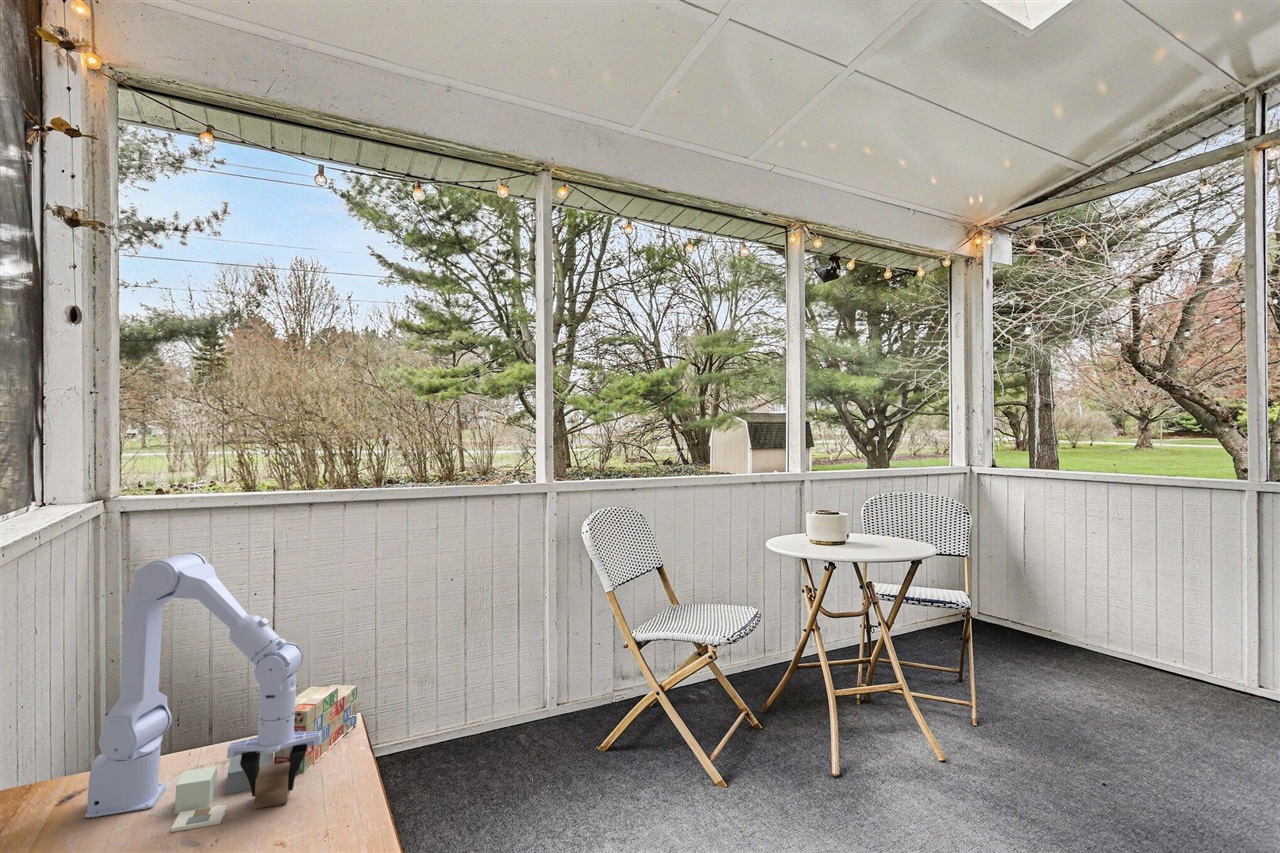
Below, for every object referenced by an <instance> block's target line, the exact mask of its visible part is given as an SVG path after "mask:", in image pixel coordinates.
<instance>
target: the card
mask: <svg viewBox="0 0 1280 853" xmlns="http://www.w3.org/2000/svg"><path fill="white" fill-rule="evenodd" d="M227 811H228V804H227V803H226V804H219V805H216V806H210V807H208V808H202V809H196V810H190V811H184V812H180V813H178V815H177V817H176V818H175V820H174V822H173V824H172V825H171V828H170V833H175V832H180V831H186V830H192V829H198V828H203V827H209V826H214V825H220V824H222V822H223V819H224V817H225V815H226V812H227Z"/></svg>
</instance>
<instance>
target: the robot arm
mask: <svg viewBox="0 0 1280 853" xmlns="http://www.w3.org/2000/svg"><path fill="white" fill-rule="evenodd" d="M173 598H174V599H189V600H197V601H198V602H199V603H201V604H202V605H203V606H204V607H205V608H206V609H207V610H209V611H210V613H212V614H213V615H214V616H215V617H216V618H218V619H219V620H220V621H221V622H222V623H223V624H224V625H225V626H227V627H228V628H229V636H228V638H229V641H231V643H232V644H233V645H235V647H237V649H238V650H239V651H240V652H241V653H242V654H243V655H244V656H245V657H246V658H247V659H248V660H249V661H250V662H251V664H253V665H254V667H255V668H253V674H254V678H255V679H256V681H257V682H258V683H259V706H258V707H259V710H258V722H257V723H258V724H257V736H256V737H255V736H254V737H252V738H247V739H243V740H239V741H235V742H230V743H229V745H228V746H227V756H226V759H231V758H234V757H235V756H238V755H241V761H240V765H241V768H242V769H243V770H244V772H245V774H246V776H247V778H248V780H249V783H250V787H251V789H250V790H251V797H255V784H256V778H257V775H258V773H259V762H260V752H266V753H272V752H273V753H275V752H278V751H279V750H281V749H288V748H292V750H291V753H290V775H289V783H288V791H290V792H291V791H293V789H294V786H295V785H294V784H295V779H296V775H297V773H298V772H297V770H298V768H299V766H300V764H301V762H302V760H303V758H304V756H305V754H306V750H307V746H310V745H313V746H319V745H320V738H321V731H316V732H294V720H295V700H296V697H297V677H298V676H297V675H298V673H297V670H299V669H300V668H301V666H302V665H303V662H304V661H303V660H304V653H303V651H302V650H301V648H300V646H299V645H298V644H297V643H295V642H292V641H286V639H285V638H283V637H282V638H281V637H280V636H279V635H278V634H277V632H275V631H274V629H272V627H270V625H269V623H270V621H269V620H268V619H267V617H263V618H262V617H261V616H260V615H257V614H256V615H253V614H248V613H247V612H246V610H245V609H243V607H242V606H241V604H240V603H239V602H238V601H237V600H236V599H235V597H234V596H233V595H232V594H231V592H230V591H229V590H228V589H227V588H226V586H225V585H224V584H223V583H222V582H221V580H220V579H219V578H218V577H217V574H216V570H215V567H214V566H213V565H212V564H211V563H209V562H207V559H206V558H205V557H204V556H203V555H202V554H200V553H198V552H193V551H191V552H190V551H188V552H184V553H183V554H180V555H175V556H170V557H167V558H162V559H155V560H152V561H149V562H148V563H146V564H145V565H143V566H142V567H141V568H139V569H138V570H137V571H135V572H134V582H133V584H132V585H131V587H130V588H129V591H128V592H127V594H126V596H125V599H124V606H123V607H124V608H123V627H122V628H123V630H122V645H121V646H122V648H121V664H120V665H121V666H120V667H121V669H120V684H119V699H118V700H117V702H116V703H115V705H114V706H113V707H112V709H111V710H110V711H109V712H108V714H107V715H106V717H105V724H104V728H103V729H102V731H101V733H100V736H99V739H98V745H99V749H100V751H101V753H102V754H98V755H97V756H96V758H94V760H93V763H92V765H91V768H90V771H89V778H88V788H87V789H88V790H87V805H86V813H85V815H84V818H85V817H87V818H86V819H89V818H90V817H91V818H96V817H102V816H107V815H108V816H109V815H115V814H122V813H127V812H133V811H140V810H146V809H151V808H153V807H154V806H155V804H156V803H157V802H158V799H159V798H160V796H161V795H162V793H163V792H164V790H165V788H166V786H167V783H165V782H164V783H162V782H161V783H159V782H160V769H161V768H160V767H161V752H162V751H161V749H162V748H161V746H162V741H163V740H164V735H165V733H167V731H168V730H169V729H170V727H171V725H172V719H173V718H172V713H171V711H170V709H169V706H168V697H167V695H165V694H163V693H162V692H160V690H159V688H160V673H161V672H160V671H161V670H160V669H161V651H162V650H161V648H162V631H163V630H162V629H163V626H162V625H163V611H164V610H163V608H164V605H165V604H166V603H168V602H169V601H170V600H172V599H173Z"/></svg>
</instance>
